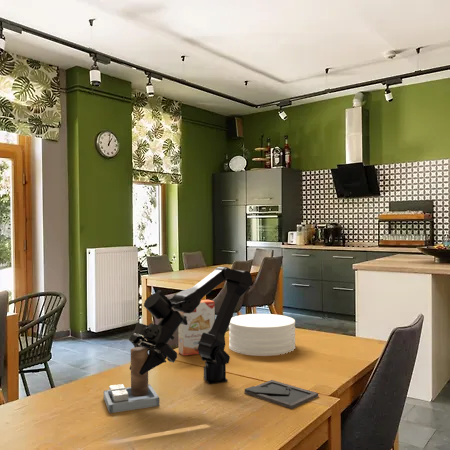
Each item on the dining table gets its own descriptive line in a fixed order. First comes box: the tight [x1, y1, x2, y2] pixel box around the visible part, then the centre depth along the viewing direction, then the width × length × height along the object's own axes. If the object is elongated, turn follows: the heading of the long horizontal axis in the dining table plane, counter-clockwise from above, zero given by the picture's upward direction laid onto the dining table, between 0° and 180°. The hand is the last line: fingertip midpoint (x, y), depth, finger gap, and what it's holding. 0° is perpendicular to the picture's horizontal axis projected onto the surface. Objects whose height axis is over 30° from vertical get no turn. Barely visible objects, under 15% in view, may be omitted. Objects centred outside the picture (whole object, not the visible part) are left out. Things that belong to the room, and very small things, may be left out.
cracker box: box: [177, 299, 216, 357], centre depth 192 cm, size 14×6×21 cm, turn 117°
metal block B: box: [112, 389, 128, 403], centre depth 133 cm, size 4×4×4 cm
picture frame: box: [243, 379, 319, 410], centre depth 144 cm, size 13×2×18 cm
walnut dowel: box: [130, 347, 149, 397], centre depth 138 cm, size 5×5×13 cm
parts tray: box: [103, 384, 160, 414], centre depth 137 cm, size 14×12×3 cm
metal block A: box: [108, 383, 126, 401], centre depth 138 cm, size 4×4×4 cm
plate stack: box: [228, 313, 296, 357], centre depth 200 cm, size 28×28×12 cm
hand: (135, 372), depth 137 cm, fingers closed on walnut dowel, 5 cm apart
